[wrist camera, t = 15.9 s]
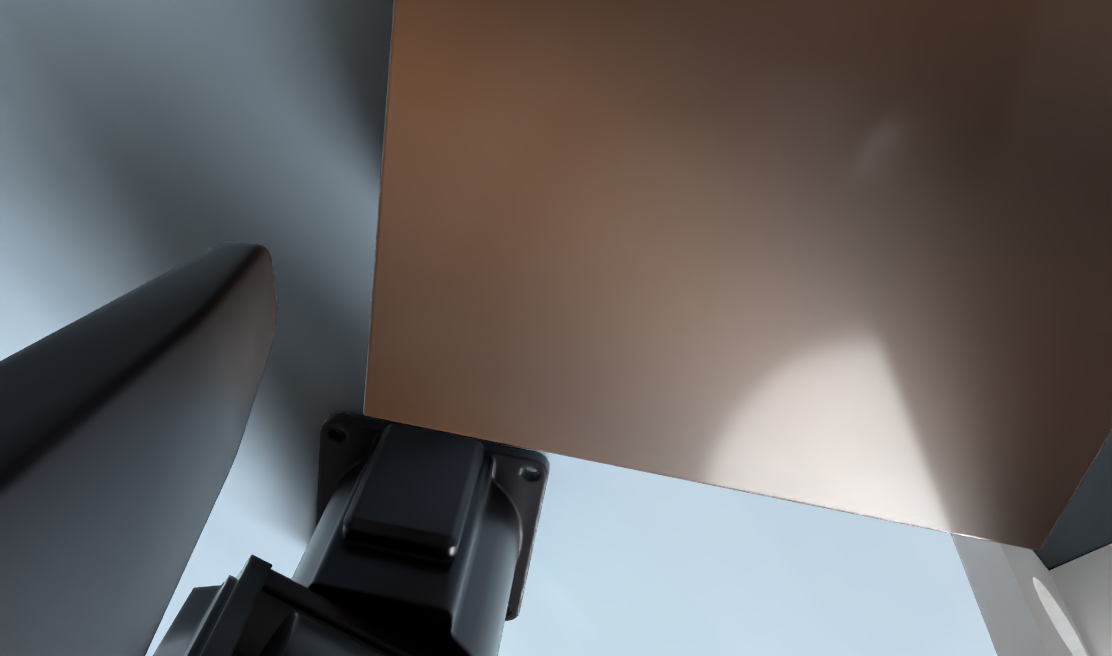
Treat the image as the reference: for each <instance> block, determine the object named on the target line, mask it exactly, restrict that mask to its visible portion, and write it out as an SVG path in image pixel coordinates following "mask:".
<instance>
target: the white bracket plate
mask: <svg viewBox="0 0 1112 656" xmlns="http://www.w3.org/2000/svg"><path fill="white" fill-rule="evenodd" d="M951 535H952V538H953V540H954V543H955V546H956V548H957V551H958V554H959V556H960V559H961V561H962V564H963V567H964V569H965V572H966V574H967V577H968V580H969V582H970V585H971V587H972V590H973V593H974V595H975V598H976V600H977V603H978V606H979V608H980V611H981V614H982V616H983V619H984V621H985V624H986V627H987V629H988V632H989V634H990V637H991V640H992V642H993V645H994V647H995V650H996V653H997V655H998V656H1112V543H1111V544H1109V545H1107V546H1104V547H1102V548H1100V549H1098V550H1095V551H1093V552H1091V553H1088V554H1086V555H1084V556H1081V557H1079V558H1077V559H1075V560H1072V561H1070V562H1068V563H1065V564H1063V565H1061V566H1059V567H1056V568H1054V569H1052V570H1048V569H1047V568H1046V567H1045V565H1044V564H1043V563H1042V562H1041V560H1040V559H1039V558H1038V557H1037V555H1036V554H1035V553H1034V552H1033V550H1032V549H1027V548H1022V547H1017V546H1012V545H1007V544H1002V543H997V542H992V541H987V540H982V539H977V538H972V537H967V536H962V535H957V534H952V533H951Z"/></svg>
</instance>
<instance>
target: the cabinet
mask: <svg viewBox="0 0 1112 656" xmlns="http://www.w3.org/2000/svg"><path fill="white" fill-rule="evenodd" d="M364 415H366V416H370V417H375V418H380V419H385V420H390V421H395V422H400V423H405V424H410V425H415V426H420V427H425V428H430V429H435V430H440V431H445V432H450V433H455V434H460V435H465V436H469V437H474V438H479V439H484V440H489V441H494V442H499V443H504V444H509V445H514V446H519V447H524V448H529V449H534V450H539V451H544V452H549V453H554V454H559V455H564V456H569V457H574V458H579V459H584V460H589V461H594V462H599V463H604V464H609V465H614V466H619V467H624V468H629V469H634V470H639V471H644V472H649V473H654V474H658V475H663V476H668V477H673V478H678V479H683V480H688V481H693V482H698V483H703V484H708V485H713V486H718V487H723V488H728V489H733V490H738V491H743V492H748V493H753V494H758V495H763V496H768V497H773V498H778V499H783V500H788V501H793V502H798V503H803V504H808V505H813V506H818V507H823V508H828V509H833V510H838V511H843V512H847V513H852V514H857V515H862V516H867V517H872V518H877V519H882V520H887V521H892V522H897V523H902V524H907V525H912V526H917V527H922V528H927V529H932V530H937V531H942V532H947V533H952V534H957V535H962V536H967V537H972V538H977V539H982V540H987V541H992V542H997V543H1002V544H1007V545H1012V546H1017V547H1022V548H1027V549H1032V550H1036V551H1038V550H1041V549H1042V547H1043V545H1044V544H1045V542H1046V540H1047V539H1048V537H1049V535H1050V534H1051V532H1052V530H1053V529H1054V527H1055V525H1056V524H1057V522H1058V520H1059V519H1060V517H1061V515H1062V514H1063V512H1064V510H1065V509H1066V507H1067V505H1068V504H1069V502H1070V500H1071V499H1072V497H1073V495H1074V494H1075V492H1076V490H1077V489H1078V487H1079V485H1080V484H1081V482H1082V480H1083V479H1084V477H1085V475H1086V474H1087V472H1088V470H1089V469H1090V467H1091V466H1092V464H1093V462H1094V461H1095V459H1096V457H1097V456H1098V454H1099V452H1100V451H1101V449H1102V447H1103V446H1104V444H1105V442H1106V441H1107V439H1108V437H1109V436H1110V434H1111V432H1112V0H394V4H393V17H392V31H391V44H390V58H389V71H388V85H387V99H386V112H385V126H384V139H383V153H382V166H381V180H380V194H379V207H378V221H377V234H376V248H375V261H374V275H373V289H372V302H371V316H370V329H369V343H368V356H367V370H366V384H365V397H364Z"/></svg>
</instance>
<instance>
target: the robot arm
mask: <svg viewBox="0 0 1112 656" xmlns="http://www.w3.org/2000/svg"><path fill="white" fill-rule="evenodd" d="M277 320H278V307H277V299H276V291H275V283H274V275H273V268H272V260H271V256H270V253H269V251H268V249H267V248H266V247H264V246H263V245H260V244H252V243H244V242H237V241H225V242H223V243H220V244H218V245H216V246H215V247H213V248H211V249H209V250H207V251H205V252H203V253H201V254H200V255H198V256H196V257H194V258H192V259H190V260H188V261H187V262H185V263H183V264H181V265H179V266H177V267H175V268H173V269H172V270H170V271H168V272H166V273H164V274H162V275H160V276H158V277H157V278H155V279H153V280H151V281H149V282H147V283H145V284H144V285H142V286H140V287H138V288H136V289H134V290H132V291H130V292H129V293H127V294H125V295H123V296H121V297H119V298H117V299H116V300H114V301H112V302H110V303H108V304H106V305H104V306H102V307H101V308H99V309H97V310H95V311H93V312H91V313H89V314H88V315H86V316H84V317H82V318H80V319H78V320H76V321H74V322H73V323H71V324H69V325H67V326H65V327H63V328H61V329H59V330H58V331H56V332H54V333H52V334H50V335H48V336H46V337H45V338H43V339H41V340H39V341H37V342H35V343H33V344H31V345H30V346H28V347H26V348H24V349H22V350H20V351H18V352H17V353H15V354H13V355H11V356H9V357H7V358H5V359H3V360H2V361H0V656H145V655H146V653H147V650H148V648H149V646H150V644H151V642H152V639H153V637H154V635H155V633H156V631H157V629H158V626H159V624H160V622H161V620H162V618H163V615H164V613H165V611H166V609H167V607H168V605H169V602H170V600H171V598H172V596H173V594H174V591H175V589H176V587H177V585H178V583H179V581H180V578H181V576H182V574H183V572H184V570H185V567H186V565H187V563H188V561H189V559H190V557H191V554H192V552H193V550H194V548H195V546H196V543H197V541H198V539H199V537H200V535H201V533H202V530H203V528H204V526H205V524H206V522H207V519H208V517H209V515H210V513H211V511H212V509H213V506H214V504H215V502H216V500H217V498H218V495H219V493H220V491H221V489H222V487H223V485H224V482H225V480H226V478H227V476H228V474H229V471H230V469H231V466H232V464H233V462H234V459H235V457H236V455H237V452H238V449H239V446H240V443H241V440H242V437H243V434H244V431H245V428H246V425H247V421H248V418H249V415H250V412H251V409H252V405H253V402H254V399H255V396H256V393H257V389H258V386H259V383H260V380H261V377H262V373H263V370H264V367H265V364H266V361H267V358H268V354H269V351H270V348H271V345H272V342H273V338H274V335H275V332H276V327H277ZM334 428H340V429H342V430H343V431H344V432H345V433H346V434H341V433H338V432H337V431H336V430H335V429H334ZM526 467H533V468H536V469H537V470H538V471H536V472H530V471H527V470H526V469H525V468H526ZM548 474H549V462H548V460H547V458H546V457H545V456H544V455H542V454H541V453H538V452H536V451H531V450H526V449H521V448H516V447H511V446H506V445H501V444H496V443H491V442H486V441H481V440H476V439H471V438H466V437H461V436H457V435H452V434H447V433H442V432H437V431H432V430H427V429H422V428H417V427H412V426H407V425H402V424H397V423H392V422H387V421H382V420H377V419H372V418H367V417H362V416H357V415H352V414H347V413H339V412H336V413H333V414H330V415H329V416H328V417H327V418H326V420H325V422H324V423H323V425H322V428H321V431H320V448H319V471H318V493H317V516H316V529H315V531H314V534H313V536H312V538H311V540H310V542H309V544H308V546H307V548H306V550H305V552H304V554H303V556H302V558H301V561H300V563H299V565H298V567H297V569H296V571H295V573H294V575H293V577H292V579H289V578H287V577H286V576H284V575H282V574H280V573H278V572H276V571H274V570H272V569H271V567H272V564H270V563H268V562H266V561H264V560H262V559H260V558H258V557H256V556H254V555H251V557H250V558H249V560H248V561H247V563H246V564H245V566H244V567H243V569H242V570H241V572H240V574H239V575H238V577H237V578H235V577H233V576H231V575H229V577H228V578H227V580H226V581H225V583H224V582H223V584H222V585H220V586H209V587H198V588H193V590H192V592H191V593H190V595H189V596H188V598H187V600H186V601H185V603H184V605H183V606H182V608H181V610H180V611H179V613H178V615H177V616H176V618H175V620H174V621H173V623H172V625H171V626H170V628H169V630H168V631H167V633H166V635H165V636H164V638H163V640H162V641H161V643H160V645H159V646H158V648H157V650H156V651H155V653H154V655H153V656H498V652H499V647H500V642H501V637H502V632H503V627H504V622H505V621H508V620H513V619H514V618H516V617H517V616H518V614H519V612H520V607H521V602H522V597H523V593H524V588H525V583H526V579H527V574H528V569H529V564H530V560H531V555H532V550H533V545H534V541H535V536H536V531H537V527H538V522H539V517H540V512H541V508H542V503H543V498H544V493H545V489H546V484H547V479H548Z"/></svg>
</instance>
